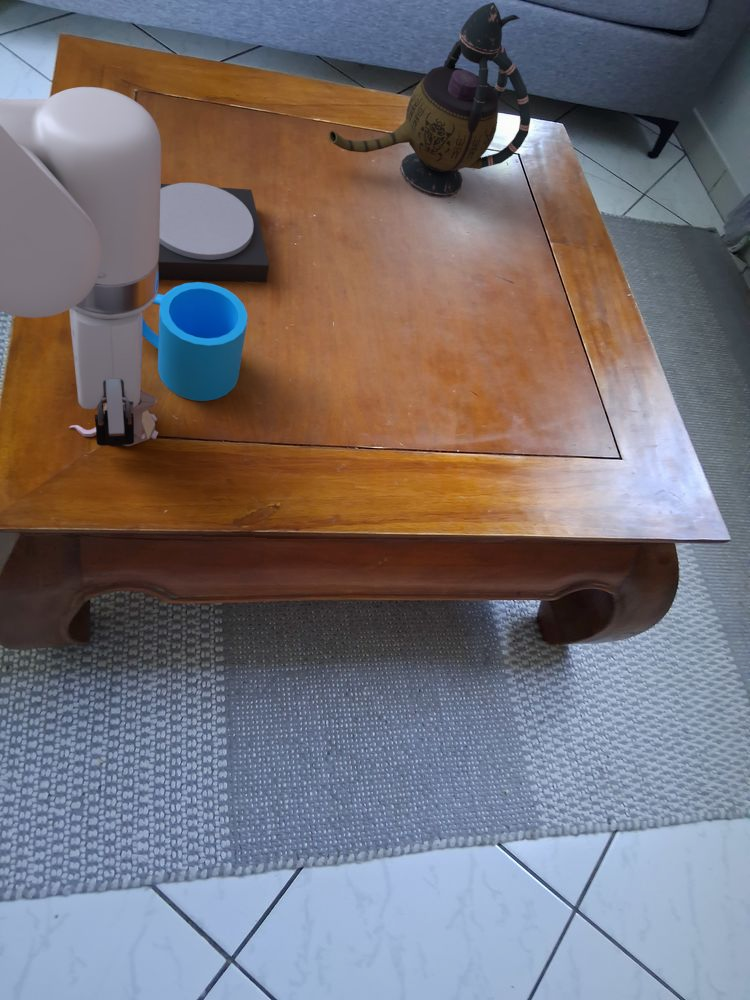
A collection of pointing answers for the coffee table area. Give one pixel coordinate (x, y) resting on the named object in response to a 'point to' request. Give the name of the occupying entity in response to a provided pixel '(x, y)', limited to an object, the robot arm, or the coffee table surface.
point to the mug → (199, 340)
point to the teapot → (456, 112)
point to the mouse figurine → (135, 420)
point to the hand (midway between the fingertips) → (113, 416)
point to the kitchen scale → (210, 234)
